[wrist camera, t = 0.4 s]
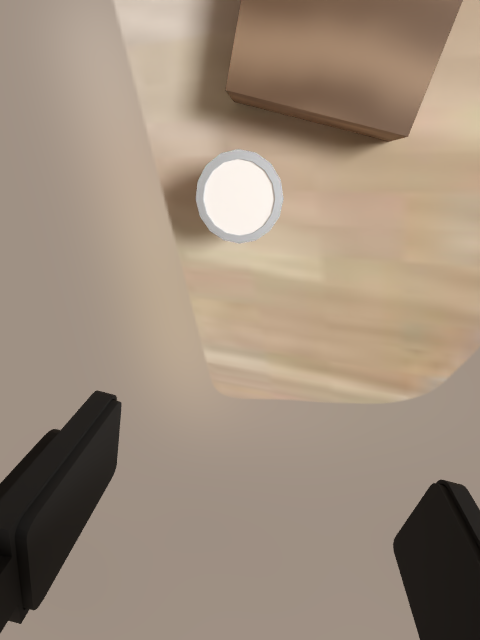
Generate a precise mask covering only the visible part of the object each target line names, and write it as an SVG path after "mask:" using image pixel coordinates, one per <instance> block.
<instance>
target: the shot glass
mask: <svg viewBox="0 0 480 640" xmlns="http://www.w3.org/2000/svg"><path fill="white" fill-rule="evenodd" d="M196 203H197V207H198V211H199V215H200V217H201V219H202V220H203V222H204V223H205V225H206V226H207V227H208V229H209V230H210V231H211V232H212V233H214V234H215V235H217V236H218V237H220V238H221V239H223V240H225V241H230V242H235V243H245V242H250V241H255V240H257V239H259V238H260V237H261V236H263V235H264V234H266V233H267V232H269V231H270V230H271V228H272V227H273V225H274V224H275V222H276V221H277V219H278V218H279V216H280V212H281V207H282V203H283V192H282V186H281V180H280V178H279V176H278V175H277V173H276V171H275V170H274V168H273V166H272V164H271V163H269V162H268V161H267V160H265V159H264V158H263V157H261V156H260V155H258V154H257V153H255V152H250V151H245V150H240V149H236V150H232V151H228V152H224V153H221V154H219V155H218V156H217V157H216V158H214V159H213V160H212V161H211V162H209V163H208V164H207V165H206V166H205V168H204V170H203V172H202V174H201V176H200V178H199V180H198V183H197V192H196Z"/></svg>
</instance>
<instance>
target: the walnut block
mask: <svg viewBox="0 0 480 640" xmlns="http://www.w3.org/2000/svg"><path fill="white" fill-rule="evenodd" d="M462 1H463V0H241V4H240V9H239V15H238V21H237V27H236V32H235V38H234V44H233V50H232V55H231V61H230V67H229V72H228V78H227V84H226V91H227V93H228V94H229V95H230V97H231V98H232V99H233V101H234V102H238V103H242V104H246V105H249V106H253V107H257V108H261V109H265V110H269V111H273V112H277V113H281V114H285V115H289V116H292V117H296V118H300V119H304V120H308V121H312V122H316V123H320V124H324V125H328V126H332V127H335V128H339V129H343V130H347V131H351V132H355V133H359V134H363V135H367V136H371V137H375V138H378V139H382V140H386V141H393V140H397V139H401V138H405V137H408V135H409V133H410V130H411V128H412V125H413V123H414V120H415V118H416V115H417V113H418V110H419V108H420V105H421V103H422V100H423V98H424V95H425V93H426V90H427V88H428V85H429V83H430V80H431V78H432V75H433V73H434V71H435V68H436V66H437V63H438V61H439V58H440V56H441V53H442V51H443V48H444V46H445V43H446V41H447V38H448V36H449V33H450V31H451V28H452V26H453V23H454V21H455V18H456V16H457V13H458V11H459V8H460V6H461V3H462Z"/></svg>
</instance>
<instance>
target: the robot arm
mask: <svg viewBox="0 0 480 640" xmlns="http://www.w3.org/2000/svg"><path fill="white" fill-rule="evenodd" d="M120 417H121V402H119V401H117V397H116V396H115V395H113V394H109V393H105V392H101V391H95V392H94V393H93V394H92V395H91V396H90V397H89V399H88V400H87V401H86V402H85V403H84V404H83V405H82V407H81V408H80V409H79V410H78V411H77V412H76V413H75V415H74V416H73V417H72V418H71V419H70V420H69V421H68V423H67V424H66V425H65V426H64V427H63V428H62V429H61V430H57V429H53V430H51V431H49V432H48V433H47V434H46V435H45V436H44V437H43V438H42V439H41V440H40V441H39V442H38V443H37V444H36V445H35V446H34V447H33V449H32V450H31V451H30V452H29V453H28V454H27V455H26V456H25V457H24V458H23V459H22V461H21V462H20V463H19V464H18V465H17V466H16V467H15V468H14V469H13V470H12V471H11V473H10V474H9V475H8V476H7V477H6V478H5V479H4V480H3V481H2V482H1V483H0V633H1V631H2V630H3V628H4V626H5V625H6V623H7V621H12V622H16V623H19V624H21V623H22V621H23V619H24V618H25V616H26V614H27V613H28V611H29V609H31V610H36V609H37V608H38V606H39V605H40V604H41V602H42V601H43V599H44V597H45V596H46V594H47V592H48V590H49V588H50V587H51V585H52V583H53V581H54V580H55V578H56V576H57V574H58V573H59V571H60V569H61V567H62V565H63V564H64V562H65V560H66V558H67V557H68V555H69V553H70V551H71V550H72V548H73V546H74V544H75V542H76V541H77V539H78V537H79V535H80V534H81V532H82V530H83V528H84V526H85V525H86V523H87V521H88V519H89V518H90V516H91V514H92V512H93V511H94V509H95V507H96V505H97V504H98V502H99V500H100V498H101V496H102V495H103V493H104V491H105V489H106V487H107V486H108V484H109V482H110V481H111V479H112V477H113V475H114V472H115V469H116V465H117V453H118V441H119V429H120ZM393 548H394V554H395V557H396V560H397V564H398V567H399V570H400V574H401V577H402V580H403V584H404V587H405V591H406V594H407V597H408V601H409V604H410V607H411V611H412V614H413V617H414V620H415V624H416V627H417V631H418V634H419V638H420V640H480V510H479V508H478V506H477V505H476V503H475V501H474V500H473V498H472V496H471V495H470V493H469V491H468V490H467V489H466V487H465V486H463V485H461V484H457V483H453V482H449V481H445V480H439V481H438V482H437V483H433V484H432V485H431V486H430V487H429V489H428V490H427V491H426V493H425V495H424V496H423V497H422V499H421V500H420V502H419V503H418V505H417V506H416V508H415V509H414V510H413V512H412V513H411V515H410V516H409V518H408V519H407V521H406V522H405V524H404V525H403V527H402V528H401V530H400V531H399V533H398V534H397V535H396V537H395V539H394V543H393Z"/></svg>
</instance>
